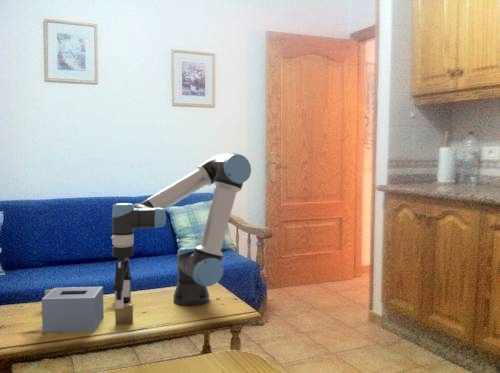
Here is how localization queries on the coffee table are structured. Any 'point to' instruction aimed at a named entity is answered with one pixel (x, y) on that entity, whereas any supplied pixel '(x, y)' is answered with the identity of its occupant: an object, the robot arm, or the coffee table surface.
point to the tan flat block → (124, 314)
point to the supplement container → (125, 299)
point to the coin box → (72, 309)
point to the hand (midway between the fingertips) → (122, 302)
